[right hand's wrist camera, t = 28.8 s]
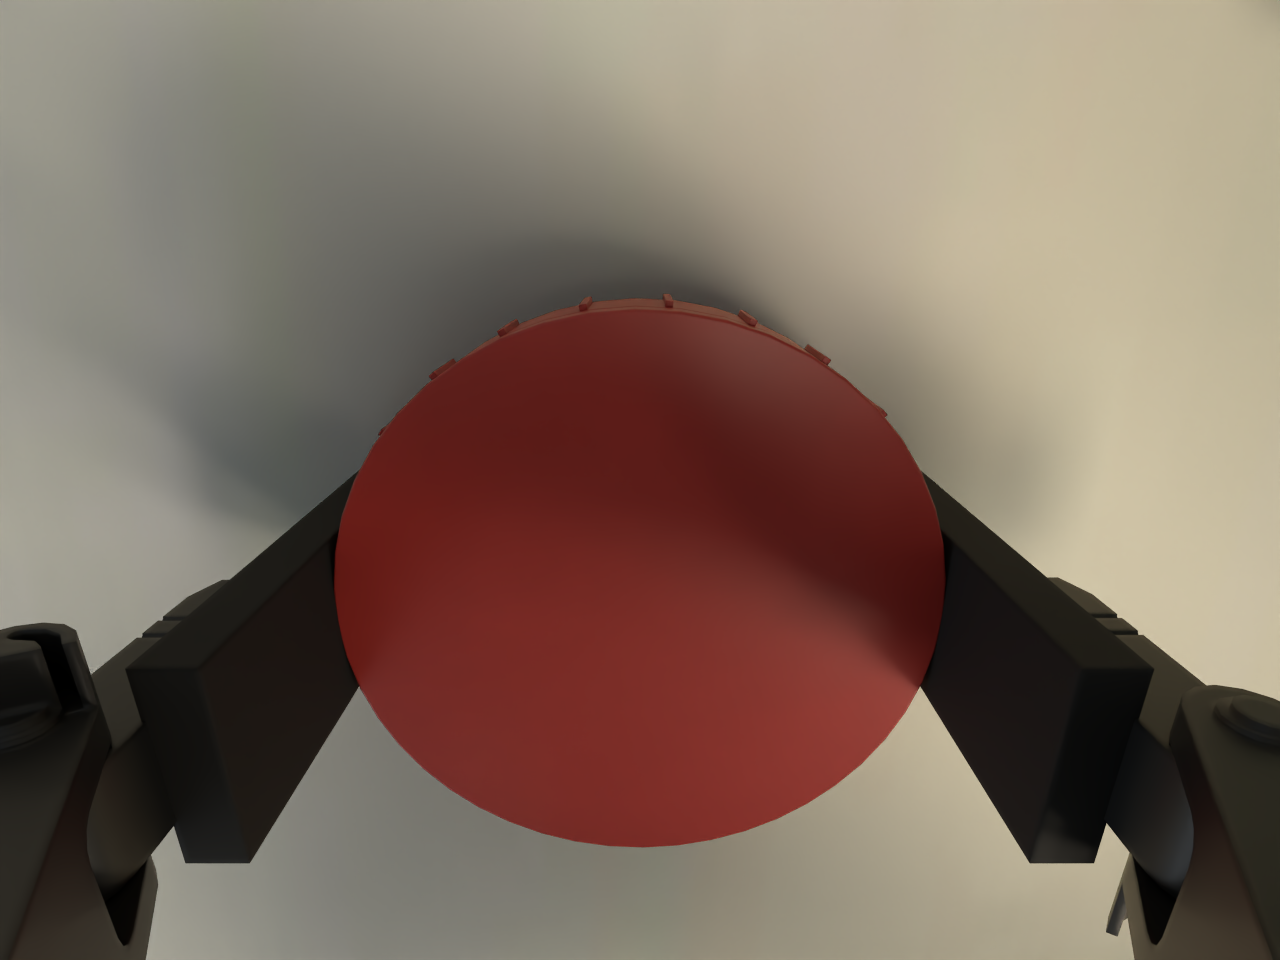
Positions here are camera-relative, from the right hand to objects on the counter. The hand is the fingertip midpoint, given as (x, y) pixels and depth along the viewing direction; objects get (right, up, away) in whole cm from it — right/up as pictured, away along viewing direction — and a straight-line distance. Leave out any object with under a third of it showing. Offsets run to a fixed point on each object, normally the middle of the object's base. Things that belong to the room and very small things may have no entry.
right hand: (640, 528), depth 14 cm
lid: (0, -1, -3) cm, 3 cm away
